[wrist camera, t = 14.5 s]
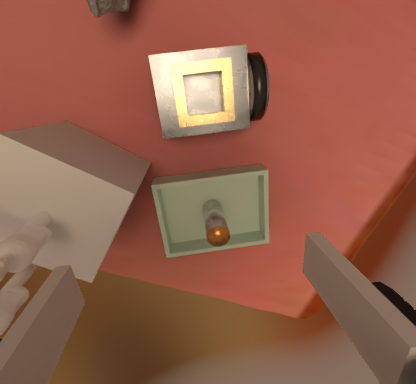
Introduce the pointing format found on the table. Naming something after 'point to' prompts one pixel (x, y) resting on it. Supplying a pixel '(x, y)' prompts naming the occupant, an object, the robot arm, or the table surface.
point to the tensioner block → (209, 90)
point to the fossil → (107, 6)
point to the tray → (218, 190)
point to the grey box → (59, 203)
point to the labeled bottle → (215, 223)
